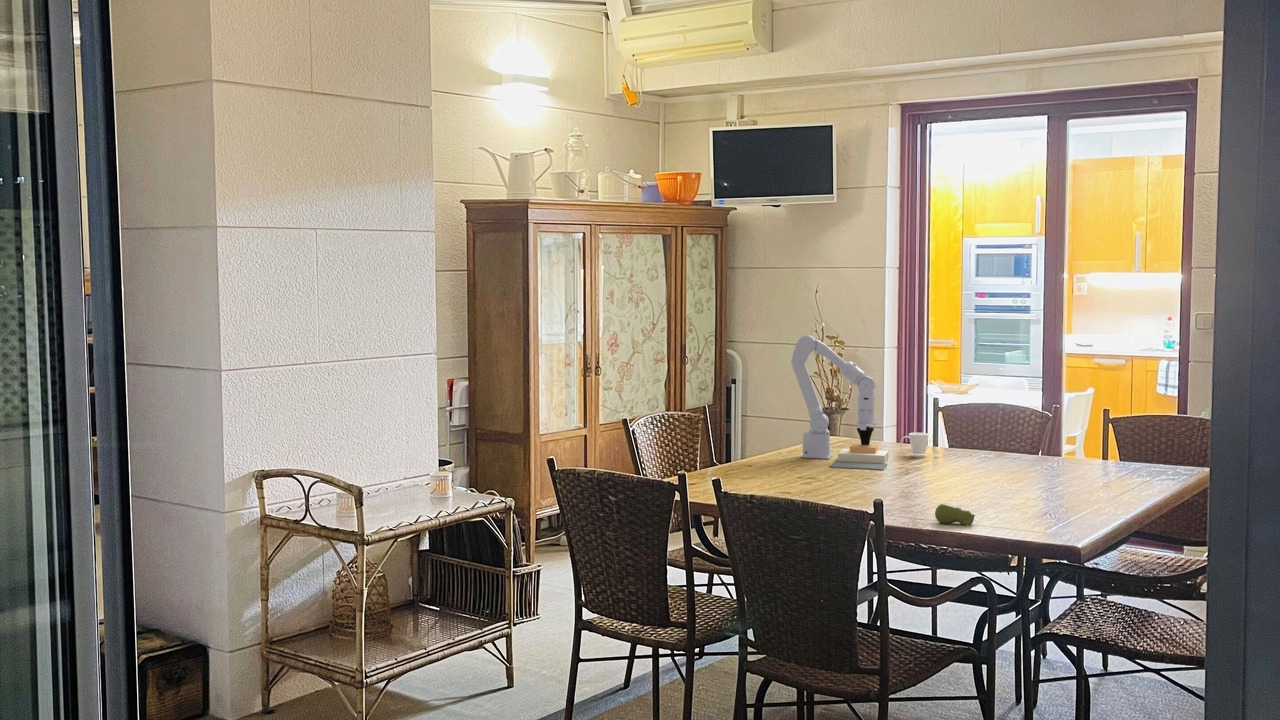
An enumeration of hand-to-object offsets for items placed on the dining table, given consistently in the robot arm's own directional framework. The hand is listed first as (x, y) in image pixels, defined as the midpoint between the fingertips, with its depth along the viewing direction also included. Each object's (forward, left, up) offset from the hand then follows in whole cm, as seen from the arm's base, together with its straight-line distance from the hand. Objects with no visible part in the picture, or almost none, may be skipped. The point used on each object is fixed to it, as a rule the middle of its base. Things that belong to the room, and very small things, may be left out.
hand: (865, 447), depth 415 cm
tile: (0, -4, -1) cm, 4 cm away
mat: (0, -17, -4) cm, 18 cm away
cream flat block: (0, -5, -4) cm, 6 cm away
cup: (+16, +12, -4) cm, 20 cm away
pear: (+37, -104, -4) cm, 110 cm away
